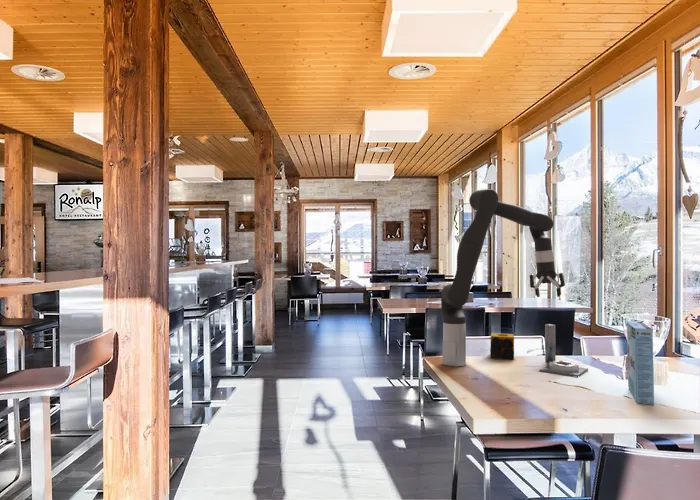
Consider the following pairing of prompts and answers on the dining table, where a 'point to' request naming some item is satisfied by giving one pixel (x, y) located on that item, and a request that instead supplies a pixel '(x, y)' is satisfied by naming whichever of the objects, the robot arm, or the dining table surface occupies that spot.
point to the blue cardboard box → (640, 362)
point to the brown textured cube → (502, 346)
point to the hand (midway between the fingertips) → (548, 296)
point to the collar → (564, 368)
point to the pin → (549, 342)
